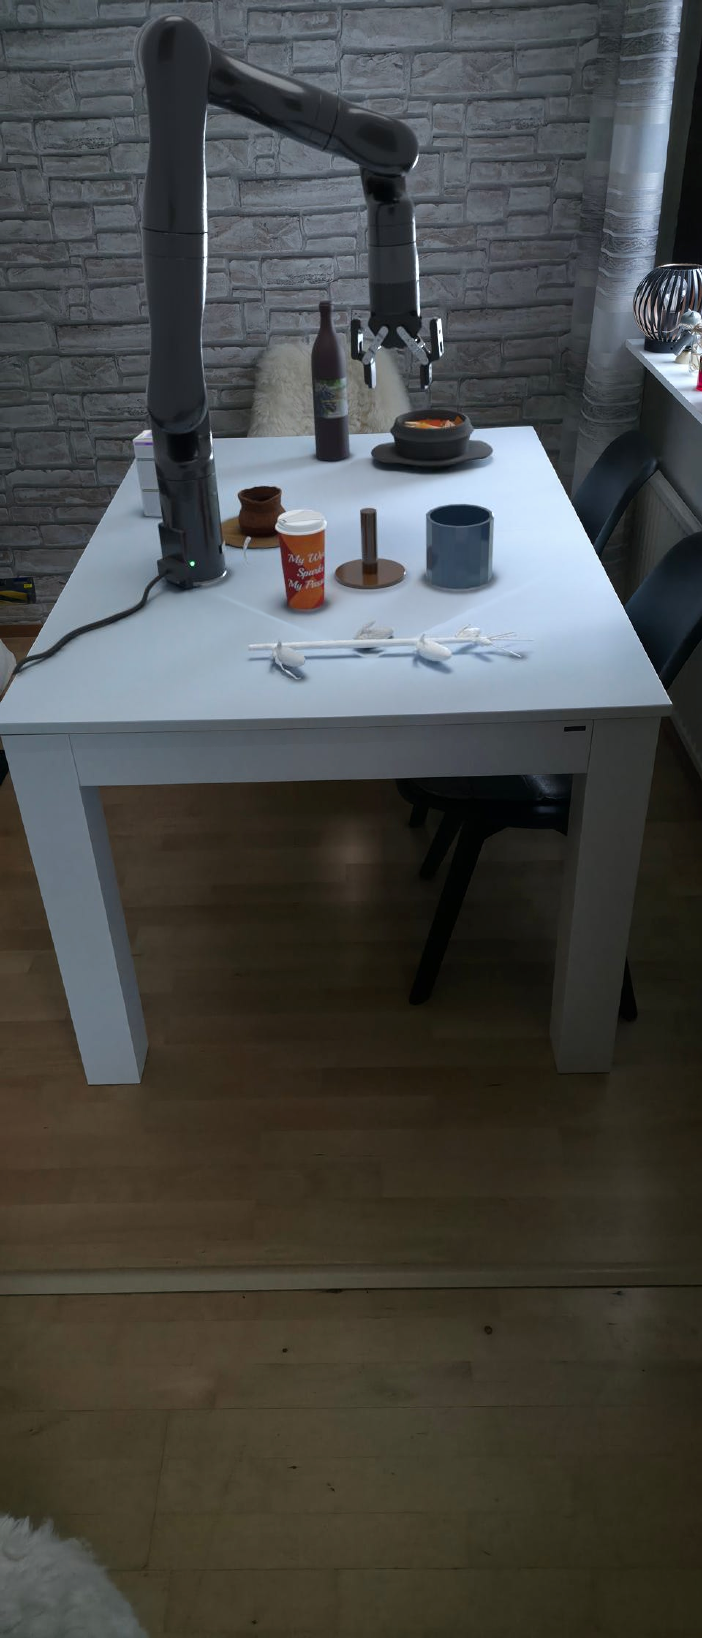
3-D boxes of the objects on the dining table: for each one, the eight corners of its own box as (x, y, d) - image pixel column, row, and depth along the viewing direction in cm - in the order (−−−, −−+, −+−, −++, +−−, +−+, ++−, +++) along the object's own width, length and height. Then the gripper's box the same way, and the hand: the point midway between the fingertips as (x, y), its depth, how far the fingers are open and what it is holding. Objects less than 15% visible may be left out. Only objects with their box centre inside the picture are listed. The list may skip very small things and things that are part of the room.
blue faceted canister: (461, 597, 173) (463, 532, 168) (412, 580, 180) (412, 516, 174) (504, 577, 179) (507, 513, 173) (455, 561, 186) (456, 499, 180)
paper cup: (294, 619, 169) (287, 530, 161) (273, 602, 175) (266, 514, 167) (340, 608, 172) (336, 519, 164) (318, 591, 178) (313, 504, 170)
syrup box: (173, 517, 208) (163, 438, 200) (143, 516, 209) (131, 437, 201) (183, 507, 213) (173, 429, 204) (153, 506, 214) (143, 428, 205)
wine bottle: (313, 461, 233) (304, 305, 216) (319, 451, 239) (311, 298, 222) (346, 462, 232) (340, 305, 215) (352, 451, 238) (346, 298, 221)
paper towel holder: (370, 598, 175) (368, 529, 168) (320, 579, 181) (316, 512, 175) (420, 576, 181) (420, 509, 175) (370, 559, 188) (368, 493, 181)
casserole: (488, 445, 238) (489, 404, 233) (497, 472, 223) (498, 429, 218) (370, 449, 239) (369, 408, 234) (371, 477, 223) (370, 434, 219)
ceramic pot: (253, 557, 191) (249, 516, 187) (194, 531, 202) (189, 492, 198) (333, 529, 200) (332, 490, 196) (272, 506, 211) (270, 468, 207)
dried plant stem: (245, 681, 153) (539, 671, 152) (233, 543, 145) (543, 531, 144) (253, 655, 164) (528, 646, 162) (243, 525, 156) (532, 514, 154)
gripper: (340, 281, 166) (348, 394, 176) (433, 280, 162) (436, 395, 172) (355, 271, 172) (362, 381, 182) (445, 270, 168) (447, 382, 178)
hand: (398, 388), depth 177 cm, fingers open, 8 cm apart
